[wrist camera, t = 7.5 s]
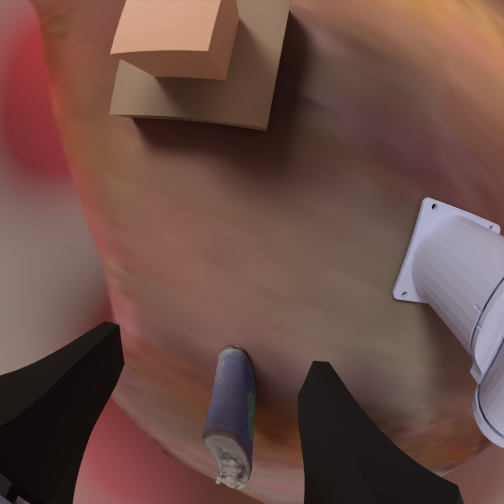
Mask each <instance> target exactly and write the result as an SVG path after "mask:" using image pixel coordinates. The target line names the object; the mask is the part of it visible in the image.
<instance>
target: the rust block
mask: <svg viewBox="0 0 504 504" xmlns="http://www.w3.org/2000/svg"><path fill="white" fill-rule="evenodd" d="M239 19H240V17H239V12H238V8H237V3H236V0H127V1H126V3H125V6H124V9H123V12H122V15H121V18H120V21H119V24H118V28H117V31H116V34H115V38H114V42H113V45H112V49H111V53H110V54H111V55H113V56H115V57H117V58H120V59H122V60H123V61H125V62H127V63H129V64H131V65H133V66H135V67H137V68H139V69H141V70H143V71H145V72H146V73H148V74H150V75H152V76H154V77H186V78H203V79H216V80H226V78H227V73H228V68H229V64H230V59H231V54H232V49H233V45H234V40H235V36H236V31H237V27H238V23H239Z"/></svg>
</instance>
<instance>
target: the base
mask: <svg viewBox="0 0 504 504" xmlns="http://www.w3.org/2000/svg"><path fill="white" fill-rule="evenodd" d="M236 3H237V8H238V12H239V17H240V19H239V23H238V27H237V31H236V36H235V40H234V45H233V49H232V54H231V59H230V64H229V68H228V73H227V78H226V80H216V79H203V78H186V77H154V76H152V75H150V74H148V73H146V72H145V71H143V70H141V69H139V68H137V67H135V66H133V65H131V64H129V63H127V62H125V61H123V60H122V59H120V62H119V66H118V70H117V75H116V80H115V85H114V90H113V95H112V101H111V107H110V113H109V115H115V116H123V117H130V118H154V119H171V120H184V121H195V122H205V123H214V124H222V125H229V126H237V127H243V128H250V129H256V130H262V131H267V125H268V120H269V114H270V109H271V103H272V98H273V93H274V87H275V82H276V76H277V71H278V66H279V60H280V55H281V50H282V45H283V39H284V34H285V29H286V24H287V18H288V13H289V8H290V3H291V0H236Z"/></svg>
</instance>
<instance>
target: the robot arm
mask: <svg viewBox="0 0 504 504" xmlns="http://www.w3.org/2000/svg"><path fill="white" fill-rule="evenodd" d="M433 204H435V207H434V209H432V205H433ZM489 227H490V229H489ZM499 233H500V226H499V225H497V224H495V223H492V222H490V221H488V220H485V219H483V218H481V217H478V216H476V215H473V214H471V213H469V212H466V211H464V210H461V209H458V208H456V207H453V206H451V205H448V204H445V203H442V202H440V201H437V200H434V199H431V198H425V199H424V200H423V201H422V204H421V208H420V212H419V215H418V219H417V222H416V226H415V229H414V232H413V235H412V239H411V242H410V245H409V248H408V251H407V254H406V257H405V260H404V262H403V265H402V268H401V271H400V273H399V276H398V279H397V281H396V284H395V287H394V289H393V292H392V295H393V297H394V298H395V299H398V300H405V301H413V302H420V303H428V304H429V305H430V306H431V307H432V308H433V310H434V311H435V312H436V313H437V314H438V316H439V317H440V318H441V319H442V320H443V322H444V323H445V324H446V325H447V327H448V328H449V329H450V330H451V331H452V333H453V334H454V335H455V337H456V338H457V339H458V340H459V342H460V343H461V344H462V346H463V347H464V348H465V349H466V351H467V352H468V353H469V355H470V356H471V357H472V359H473V364H472V367H471V370H470V373H471V375H472V376H473V378H474V379H475V381H476V382H477V386H476V388H475V390H474V393H473V397H472V410H473V415H474V418H475V421H476V423H477V425H478V427H479V428H480V430H481V431H482V433H483V434H484V435H485V436H486V437H487V438H488V439H489V440H490V441H491V442H493V443H494V444H496V445H498V446H500V447H503V448H504V237H503V236H501V235H499ZM404 292H405V294H404V295H402V294H403V293H404ZM123 366H124V357H123V350H122V343H121V335H120V327H119V325H117V324H114V323H111V322H107V321H105V322H103V323H101V324H100V325H98V326H96V327H95V328H93V329H92V330H90V331H88V332H87V333H85V334H84V335H82V336H81V337H79V338H77V339H76V340H74V341H72V342H71V343H69V344H68V345H66V346H64V347H63V348H61V349H59V350H57V351H56V352H54V353H52V354H50V355H48V356H46V357H45V358H43V359H41V360H39V361H37V362H35V363H33V364H30V365H28V366H26V367H23V368H21V369H18V370H16V371H13V372H10V373H7V374H3V375H0V504H73V496H74V491H75V485H76V481H77V476H78V472H79V468H80V465H81V461H82V458H83V455H84V451H85V449H86V446H87V442H88V440H89V437H90V434H91V432H92V430H93V428H94V425H95V424H96V422H97V420H98V418H99V416H100V414H101V412H102V411H103V409H104V407H105V405H106V403H107V401H108V399H109V398H110V396H111V394H112V392H113V390H114V388H115V386H116V384H117V382H118V379H119V377H120V374H121V372H122V369H123ZM298 423H299V431H300V439H301V447H302V454H303V462H304V474H305V491H304V504H464V502H463V499H462V496H461V493H460V490H459V488H458V485H456V484H454V483H452V482H450V481H447V480H445V479H443V478H442V477H440V476H438V475H436V474H434V473H432V472H431V471H429V470H428V469H426V468H424V467H423V466H421V465H420V464H419V463H417V462H416V461H414V460H413V459H412V458H410V457H409V456H408V455H407V454H405V453H404V452H403V451H402V450H400V449H399V448H398V447H397V446H396V445H395V444H394V443H393V442H392V441H391V440H390V439H389V438H387V437H386V436H385V435H384V434H383V433H382V432H381V430H380V429H379V428H378V427H377V426H376V425H375V424H374V423H373V422H372V420H371V419H370V418H369V417H368V416H367V414H366V413H365V412H364V411H363V410H362V408H361V407H360V406H359V404H358V403H357V402H356V400H355V399H354V398H353V396H352V395H351V393H350V392H349V391H348V389H347V388H346V386H345V385H344V383H343V382H342V380H341V379H340V378H339V376H338V375H337V373H336V372H335V370H334V369H333V367H332V366H331V364H330V363H329V362H322V361H313V363H312V365H311V368H310V370H309V372H308V375H307V377H306V379H305V382H304V384H303V386H302V388H301V391H300V393H299V395H298Z"/></svg>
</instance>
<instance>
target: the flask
mask: <svg viewBox="0 0 504 504" xmlns="http://www.w3.org/2000/svg"><path fill="white" fill-rule="evenodd" d="M233 347H235V348H237V349H235V348H233ZM233 347H231V346H227V347H226V346H224V347H223V349H222V350H221V351H220V353H219V357H218V364H217V369H216V375H215V381H214V386H213V391H212V396H211V401H210V405H209V410H208V414H207V420H206V424H205V429H204V433H203V443H204V444H205V446H206V447H207V448H208V450H209V451H210V452H211V453H212V455H213V457H214V459H215V460H216V462H217V464H218V467H219V476H218V478H217V481H216V483H218V484H220V481H221V482H223V483H225V484H226V485H227V486H229V487H231V488H234V487H235V486H236V485H240V486H239V487H237V488H238V489H242V488H244V487H245V486H246V484H247V483H246V482H248V480H249V477H250V473H251V470H252V450H253V433H254V418H255V404H256V397H257V383H256V381H255V376H254V372H253V369H252V364H251V362H250V358H249V357H248V355H247V353H246V352H245V350H243V348H242V347H239V346H235V345H233Z"/></svg>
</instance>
